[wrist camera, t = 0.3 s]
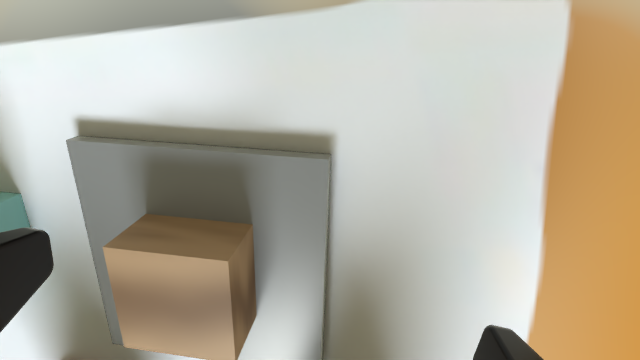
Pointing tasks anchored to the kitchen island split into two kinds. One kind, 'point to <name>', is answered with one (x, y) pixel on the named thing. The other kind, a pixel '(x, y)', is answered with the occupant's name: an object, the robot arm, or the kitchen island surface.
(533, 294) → the kitchen island surface
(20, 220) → the teal brick
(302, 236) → the baseplate
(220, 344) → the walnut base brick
